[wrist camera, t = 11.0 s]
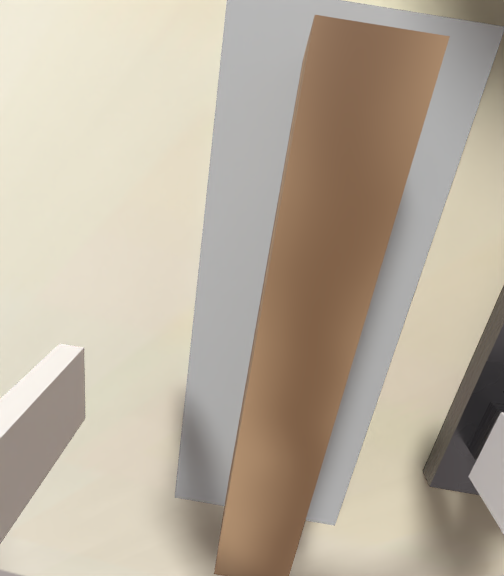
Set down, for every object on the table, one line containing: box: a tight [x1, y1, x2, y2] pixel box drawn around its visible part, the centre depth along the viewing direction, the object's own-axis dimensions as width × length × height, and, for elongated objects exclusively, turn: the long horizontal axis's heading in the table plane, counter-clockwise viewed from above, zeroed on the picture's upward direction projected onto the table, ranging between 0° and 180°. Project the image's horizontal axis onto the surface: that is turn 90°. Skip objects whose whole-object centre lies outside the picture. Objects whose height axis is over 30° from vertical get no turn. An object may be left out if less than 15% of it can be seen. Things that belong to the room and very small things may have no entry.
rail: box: [214, 15, 450, 576], centre depth 15 cm, size 3×22×5 cm, turn 171°
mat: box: [175, 0, 504, 525], centre depth 18 cm, size 10×26×1 cm, turn 171°
